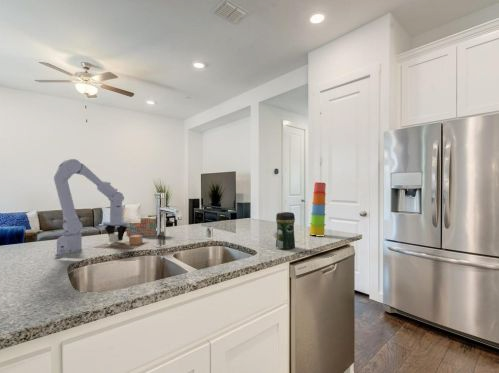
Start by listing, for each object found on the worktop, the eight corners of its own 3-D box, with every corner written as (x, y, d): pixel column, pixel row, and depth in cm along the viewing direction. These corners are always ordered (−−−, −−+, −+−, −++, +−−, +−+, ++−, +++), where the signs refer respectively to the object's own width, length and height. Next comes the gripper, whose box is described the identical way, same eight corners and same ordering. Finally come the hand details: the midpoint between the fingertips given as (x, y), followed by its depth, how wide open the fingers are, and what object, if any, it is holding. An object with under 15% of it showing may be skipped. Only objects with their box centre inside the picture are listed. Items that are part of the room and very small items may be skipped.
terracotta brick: (137, 244, 132) (137, 236, 132) (129, 244, 133) (129, 236, 133) (142, 242, 136) (142, 235, 136) (134, 242, 137) (134, 234, 137)
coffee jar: (287, 245, 138) (287, 211, 138) (297, 248, 131) (297, 212, 131) (273, 247, 132) (273, 212, 132) (283, 250, 126) (283, 213, 126)
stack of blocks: (126, 237, 155) (126, 217, 155) (131, 235, 161) (131, 216, 161) (159, 238, 153) (159, 218, 153) (164, 236, 159) (164, 217, 159)
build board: (132, 251, 122) (132, 248, 122) (93, 249, 126) (93, 246, 126) (149, 244, 137) (149, 241, 137) (114, 242, 140) (114, 240, 140)
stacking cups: (315, 233, 172) (315, 182, 172) (328, 235, 164) (328, 182, 164) (305, 235, 166) (306, 182, 166) (319, 237, 158) (319, 182, 158)
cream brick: (117, 242, 132) (117, 234, 132) (109, 241, 133) (109, 234, 133) (122, 240, 137) (122, 232, 137) (115, 239, 137) (115, 232, 137)
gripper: (133, 213, 137) (133, 238, 137) (109, 213, 140) (109, 237, 140) (124, 215, 130) (124, 241, 131) (99, 214, 133) (99, 240, 133)
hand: (116, 239), depth 135 cm, fingers closed on cream brick, 4 cm apart
